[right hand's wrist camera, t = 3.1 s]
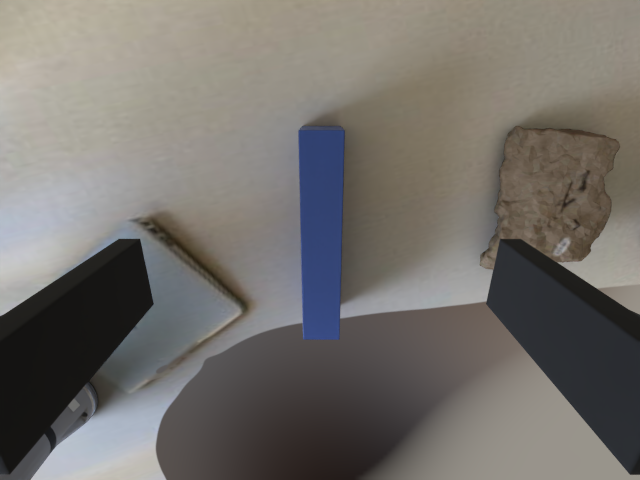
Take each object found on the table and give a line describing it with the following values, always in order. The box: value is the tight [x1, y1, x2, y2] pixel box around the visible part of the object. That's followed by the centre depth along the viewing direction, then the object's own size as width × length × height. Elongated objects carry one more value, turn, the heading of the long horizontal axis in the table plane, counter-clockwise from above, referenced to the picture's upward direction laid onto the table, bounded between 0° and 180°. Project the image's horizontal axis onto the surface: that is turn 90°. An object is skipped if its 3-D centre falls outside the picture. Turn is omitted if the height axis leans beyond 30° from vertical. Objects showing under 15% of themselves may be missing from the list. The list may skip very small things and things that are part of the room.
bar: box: [299, 126, 345, 339], centre depth 49 cm, size 30×5×9 cm, turn 0°
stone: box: [480, 126, 620, 270], centre depth 48 cm, size 21×15×6 cm
